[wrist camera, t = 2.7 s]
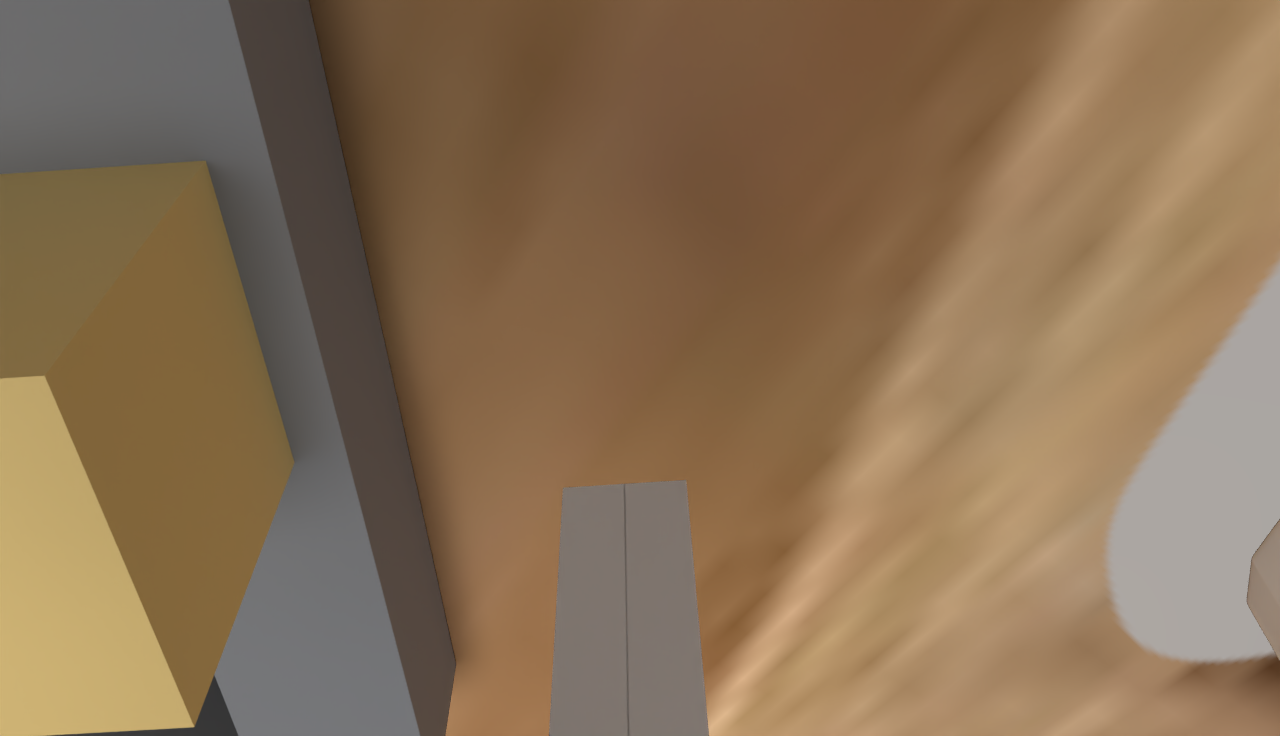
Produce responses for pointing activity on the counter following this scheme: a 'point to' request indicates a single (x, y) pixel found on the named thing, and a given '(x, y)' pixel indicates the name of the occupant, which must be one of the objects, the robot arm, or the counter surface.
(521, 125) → the counter surface
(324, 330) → the tray
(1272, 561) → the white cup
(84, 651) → the ochre cube
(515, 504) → the counter surface
